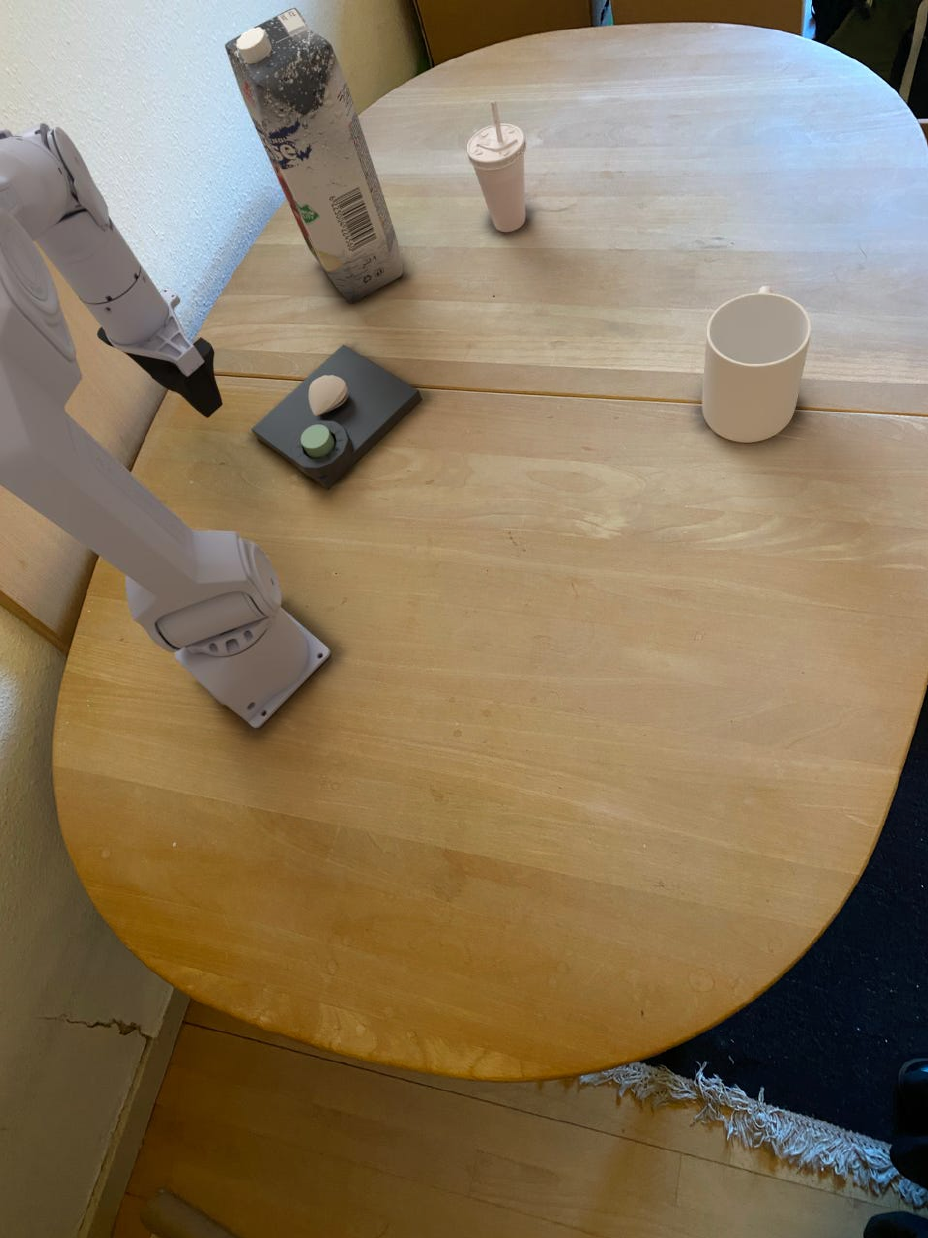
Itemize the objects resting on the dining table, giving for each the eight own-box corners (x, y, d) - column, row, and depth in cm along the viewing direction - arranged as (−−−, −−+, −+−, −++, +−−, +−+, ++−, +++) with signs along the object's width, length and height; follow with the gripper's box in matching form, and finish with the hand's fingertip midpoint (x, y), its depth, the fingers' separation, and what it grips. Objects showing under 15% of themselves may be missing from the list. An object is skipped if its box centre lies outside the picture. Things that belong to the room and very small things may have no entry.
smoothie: (532, 239, 94) (513, 119, 82) (477, 241, 96) (451, 124, 84) (541, 200, 97) (523, 78, 85) (487, 203, 99) (463, 84, 86)
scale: (327, 495, 84) (316, 477, 81) (253, 440, 89) (241, 421, 87) (425, 400, 87) (418, 380, 84) (347, 353, 92) (338, 332, 90)
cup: (694, 441, 77) (699, 363, 69) (713, 344, 82) (720, 259, 73) (789, 449, 75) (806, 369, 66) (803, 348, 80) (821, 261, 71)
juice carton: (377, 230, 101) (291, -19, 77) (414, 276, 96) (335, 25, 72) (312, 265, 100) (207, 25, 77) (347, 314, 95) (245, 73, 72)
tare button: (319, 463, 82) (313, 453, 81) (300, 449, 84) (294, 439, 82) (340, 442, 83) (335, 432, 82) (321, 429, 84) (315, 419, 83)
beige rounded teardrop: (357, 389, 87) (349, 373, 85) (337, 427, 86) (329, 410, 83) (322, 384, 89) (314, 367, 87) (302, 420, 87) (293, 404, 85)
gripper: (195, 279, 66) (266, 396, 78) (100, 219, 72) (178, 336, 84) (127, 337, 64) (210, 447, 76) (36, 270, 71) (126, 381, 83)
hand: (190, 392), depth 80 cm, fingers open, 7 cm apart
